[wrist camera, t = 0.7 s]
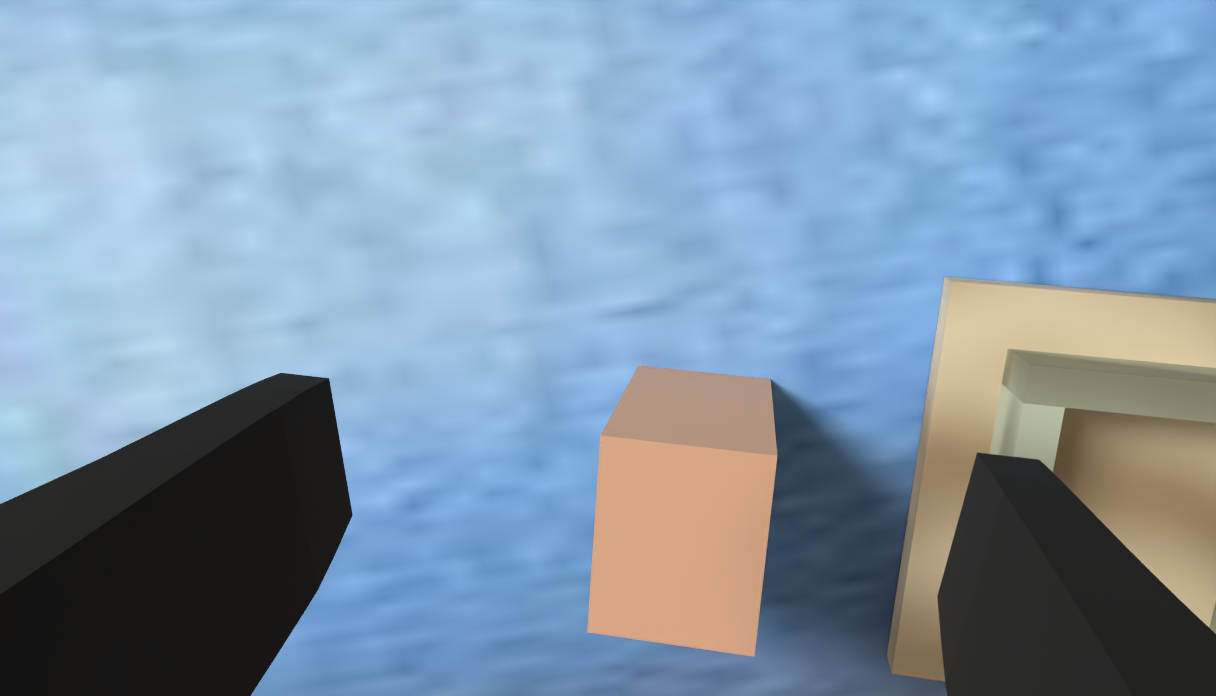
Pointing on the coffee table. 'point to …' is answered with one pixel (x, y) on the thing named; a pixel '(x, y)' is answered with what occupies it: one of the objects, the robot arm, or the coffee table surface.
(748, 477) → the keyed peg
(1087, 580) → the robot arm
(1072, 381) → the socket stand
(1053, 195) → the coffee table surface
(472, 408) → the coffee table surface
